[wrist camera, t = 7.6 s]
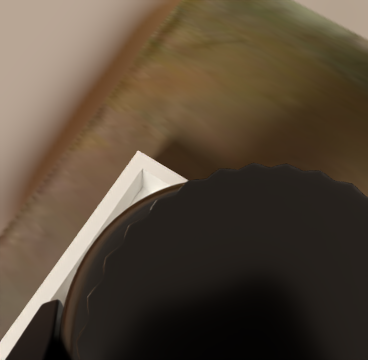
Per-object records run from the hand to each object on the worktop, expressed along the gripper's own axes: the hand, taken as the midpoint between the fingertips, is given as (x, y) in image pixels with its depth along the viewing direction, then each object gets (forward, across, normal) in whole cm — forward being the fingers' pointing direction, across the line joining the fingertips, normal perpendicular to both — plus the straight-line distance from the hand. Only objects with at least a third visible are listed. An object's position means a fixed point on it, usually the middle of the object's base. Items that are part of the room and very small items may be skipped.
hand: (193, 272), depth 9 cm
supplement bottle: (+4, 0, +6) cm, 7 cm away
